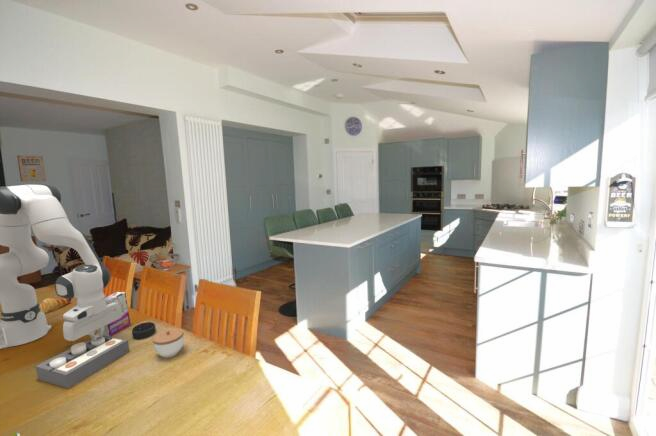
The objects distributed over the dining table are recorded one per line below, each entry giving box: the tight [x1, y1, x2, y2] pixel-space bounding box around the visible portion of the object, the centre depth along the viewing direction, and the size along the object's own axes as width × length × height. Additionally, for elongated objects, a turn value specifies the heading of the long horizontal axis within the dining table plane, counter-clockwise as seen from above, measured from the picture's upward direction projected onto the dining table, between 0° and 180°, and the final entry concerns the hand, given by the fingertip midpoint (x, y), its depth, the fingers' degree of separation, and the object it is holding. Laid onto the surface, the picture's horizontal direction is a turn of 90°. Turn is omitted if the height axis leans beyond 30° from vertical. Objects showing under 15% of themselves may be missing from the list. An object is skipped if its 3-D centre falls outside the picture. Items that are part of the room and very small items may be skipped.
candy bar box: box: [102, 291, 131, 337], centre depth 140 cm, size 11×5×16 cm, turn 168°
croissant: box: [38, 297, 72, 314], centre depth 166 cm, size 21×10×8 cm, turn 151°
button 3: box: [91, 337, 105, 347], centre depth 123 cm, size 4×4×4 cm
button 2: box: [70, 341, 87, 357], centre depth 117 cm, size 4×4×4 cm
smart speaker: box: [131, 321, 157, 340], centre depth 137 cm, size 9×9×4 cm
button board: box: [35, 335, 130, 389], centre depth 116 cm, size 16×22×6 cm
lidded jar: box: [152, 327, 185, 359], centre depth 122 cm, size 11×11×9 cm
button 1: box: [49, 357, 67, 369], centre depth 110 cm, size 4×4×4 cm
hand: (97, 339), depth 123 cm, fingers closed
